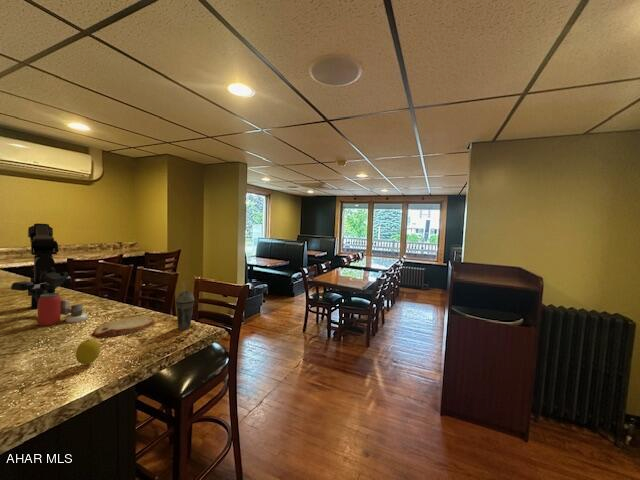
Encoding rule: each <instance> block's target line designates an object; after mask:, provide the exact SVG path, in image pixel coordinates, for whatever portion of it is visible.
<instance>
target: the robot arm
mask: <svg viewBox="0 0 640 480" xmlns="http://www.w3.org/2000/svg"><path fill="white" fill-rule="evenodd" d="M27 229H28V230H27V237H28V238H29V242H30V253H31V256H33V269H32V268H31V272H33V275H32V276H31V278H30V281H25V280H24V281H23V280H22V281H18V282H17V281H16V282H13V283H12V284H11V286H10V287H11V291H12V290H13V291H21V292H23V291H27V296H28V297H30V296H31V302H30V303H31V304H30V306H27V309H38V300H39V298H40V295H41V290H49V293H56V289H57V288H58V287H61V286H62V285H63V284H67V283H72V277H71V276H70V275H69V273H68V272H67V271H63V272H56V268H54V266H56V265H55V264H56V261H55V259H54V255H58V253H59V243H58V241H57V240H55V239H54V237H53V235H54V229H53V227H51V226H50V224H48V223H37V222H36V223H33V225H31V226H29V227H28V228H27Z"/></svg>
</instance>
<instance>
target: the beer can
mask: <svg viewBox="0 0 640 480" xmlns="http://www.w3.org/2000/svg"><path fill="white" fill-rule="evenodd" d="M61 299H62V298H61V296H60V293H58V292H55V293H47V294H42V295H40V298H39V300H38V308H37V325H38V326H40V327H42V326H43V327H45V326H46V327H47V326H52V325H57V324H58V323H60V322H61V314H60V312H61Z"/></svg>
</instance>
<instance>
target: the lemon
mask: <svg viewBox="0 0 640 480" xmlns="http://www.w3.org/2000/svg"><path fill="white" fill-rule="evenodd" d="M75 352H76V353H75V359H76V361H77V362H78V363H80V364H81V365H86V366H89V365H90V364H92V363H93V362H95V361H96V360H97V359H98V358H99V357H100V356H99V355H100V353H101V347H100V344H99V342H98V341H96V340H94V339H90V338H88V339H86V340H84V341H83V342H81V343H80V344H79V345H78V347H76V351H75Z"/></svg>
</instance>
